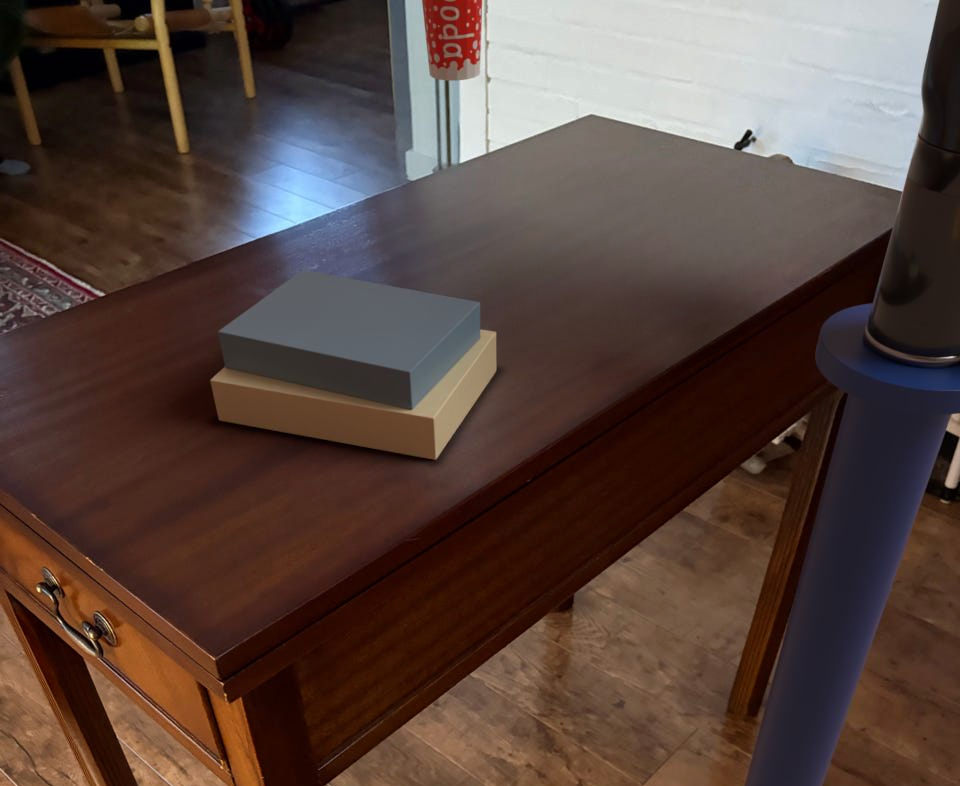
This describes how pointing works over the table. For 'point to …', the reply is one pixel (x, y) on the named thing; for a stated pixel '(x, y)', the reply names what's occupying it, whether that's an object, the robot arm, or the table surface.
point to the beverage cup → (453, 38)
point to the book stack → (355, 364)
